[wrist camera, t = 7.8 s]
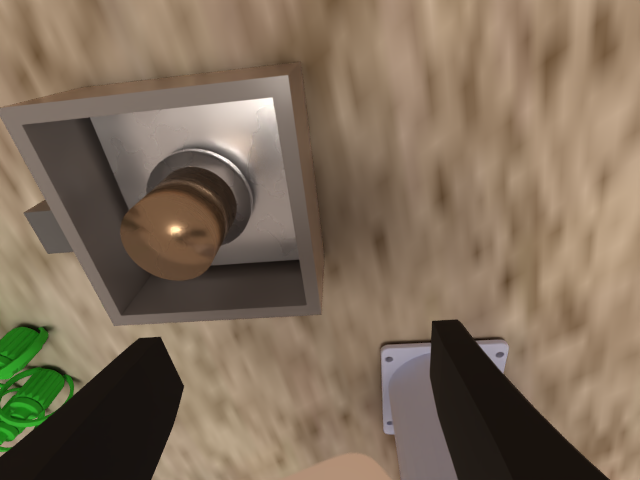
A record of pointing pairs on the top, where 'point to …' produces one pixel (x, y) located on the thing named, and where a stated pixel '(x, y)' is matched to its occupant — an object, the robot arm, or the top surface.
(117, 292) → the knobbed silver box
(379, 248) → the top surface
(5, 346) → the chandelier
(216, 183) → the plunger
